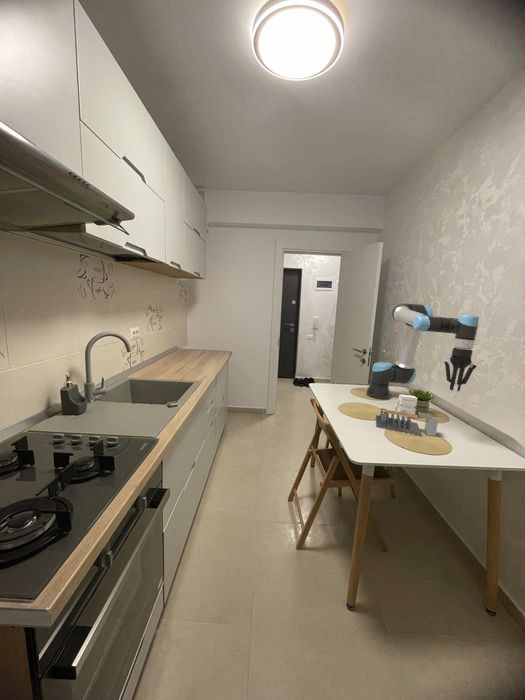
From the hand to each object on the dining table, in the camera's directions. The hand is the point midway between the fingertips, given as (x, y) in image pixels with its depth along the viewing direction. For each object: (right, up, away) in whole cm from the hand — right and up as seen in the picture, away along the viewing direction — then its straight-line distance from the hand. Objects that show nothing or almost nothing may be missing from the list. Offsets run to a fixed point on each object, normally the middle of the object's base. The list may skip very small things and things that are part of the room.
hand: (453, 396), depth 134 cm
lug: (-10, -19, +7) cm, 22 cm away
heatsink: (-22, -17, +11) cm, 30 cm away
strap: (-21, -11, +10) cm, 26 cm away
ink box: (-9, -16, +28) cm, 33 cm away
